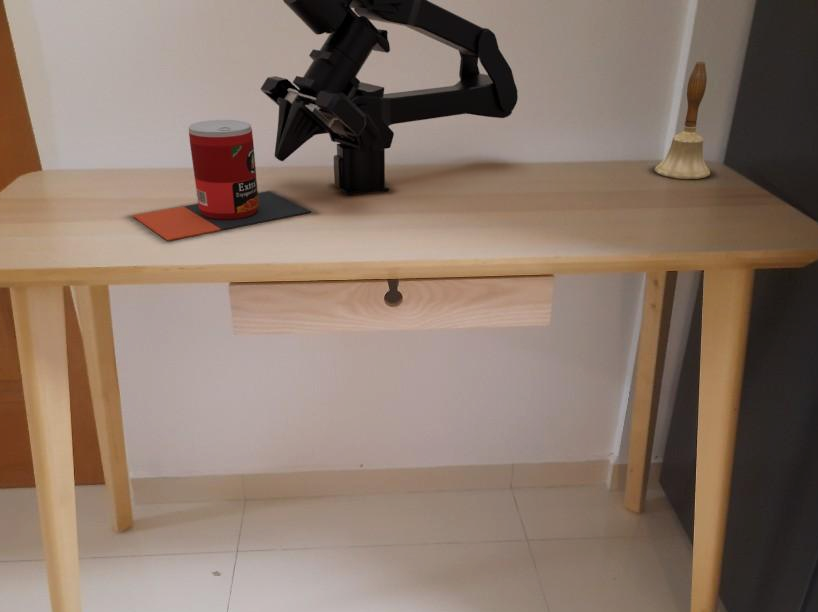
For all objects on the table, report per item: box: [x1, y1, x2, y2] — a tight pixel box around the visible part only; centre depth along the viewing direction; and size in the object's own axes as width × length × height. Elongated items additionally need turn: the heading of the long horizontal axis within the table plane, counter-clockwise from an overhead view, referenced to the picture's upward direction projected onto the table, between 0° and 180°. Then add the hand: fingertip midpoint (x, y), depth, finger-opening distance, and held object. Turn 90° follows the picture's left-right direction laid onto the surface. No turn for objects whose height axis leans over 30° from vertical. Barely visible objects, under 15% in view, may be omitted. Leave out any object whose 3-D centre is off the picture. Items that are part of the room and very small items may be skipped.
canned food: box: [188, 119, 259, 220], centre depth 100 cm, size 8×8×11 cm
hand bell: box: [654, 61, 711, 180], centre depth 117 cm, size 8×8×16 cm
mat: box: [184, 190, 312, 231], centre depth 104 cm, size 13×12×1 cm
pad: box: [132, 205, 222, 242], centre depth 99 cm, size 7×12×1 cm, turn 36°
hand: (278, 159), depth 104 cm, fingers closed
